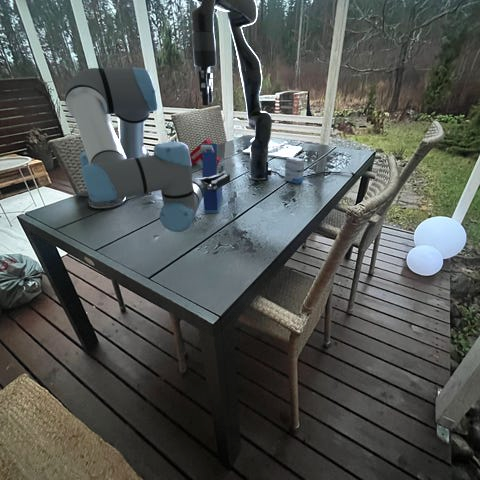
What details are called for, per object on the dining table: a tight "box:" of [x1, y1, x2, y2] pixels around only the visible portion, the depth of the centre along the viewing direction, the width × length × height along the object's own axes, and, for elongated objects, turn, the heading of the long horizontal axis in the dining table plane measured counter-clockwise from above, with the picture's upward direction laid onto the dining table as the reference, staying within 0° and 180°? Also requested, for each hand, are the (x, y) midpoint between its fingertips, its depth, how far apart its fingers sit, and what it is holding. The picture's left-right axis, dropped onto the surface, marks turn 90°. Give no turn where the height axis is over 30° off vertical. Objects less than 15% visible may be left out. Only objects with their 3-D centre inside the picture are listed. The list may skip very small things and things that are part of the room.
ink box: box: [284, 156, 306, 185], centre depth 140 cm, size 8×5×12 cm, turn 47°
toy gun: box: [189, 138, 221, 165], centre depth 167 cm, size 18×4×15 cm
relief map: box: [242, 138, 304, 160], centre depth 192 cm, size 27×35×5 cm
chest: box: [202, 186, 223, 214], centre depth 117 cm, size 16×6×11 cm, turn 177°
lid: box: [201, 142, 218, 178], centre depth 103 cm, size 17×6×9 cm
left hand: (202, 169), depth 92 cm, fingers open, 13 cm apart
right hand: (207, 103), depth 99 cm, fingers open, 8 cm apart
